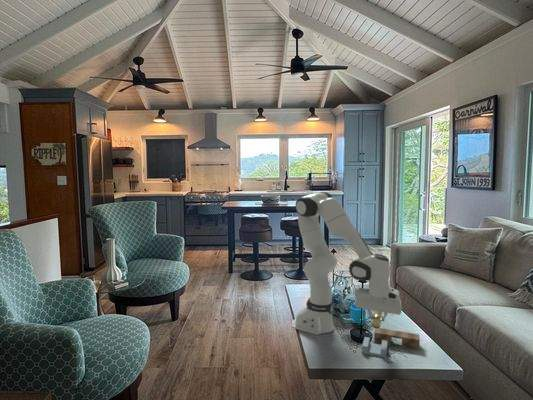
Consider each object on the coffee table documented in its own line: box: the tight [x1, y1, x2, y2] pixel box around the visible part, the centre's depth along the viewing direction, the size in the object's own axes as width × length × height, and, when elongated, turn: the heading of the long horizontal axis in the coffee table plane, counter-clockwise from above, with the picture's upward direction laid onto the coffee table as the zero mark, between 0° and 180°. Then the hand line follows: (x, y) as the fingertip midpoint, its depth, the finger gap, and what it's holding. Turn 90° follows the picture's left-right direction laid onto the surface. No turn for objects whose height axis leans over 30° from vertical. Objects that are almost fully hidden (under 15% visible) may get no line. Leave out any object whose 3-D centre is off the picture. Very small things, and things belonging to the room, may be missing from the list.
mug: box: [349, 303, 373, 325], centre depth 191 cm, size 12×8×8 cm
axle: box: [371, 310, 383, 329], centre depth 159 cm, size 4×14×4 cm, turn 158°
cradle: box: [361, 336, 388, 359], centre depth 159 cm, size 10×9×4 cm
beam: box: [373, 327, 421, 351], centre depth 166 cm, size 20×6×5 cm, turn 67°
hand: (377, 319), depth 157 cm, fingers closed on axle, 4 cm apart
